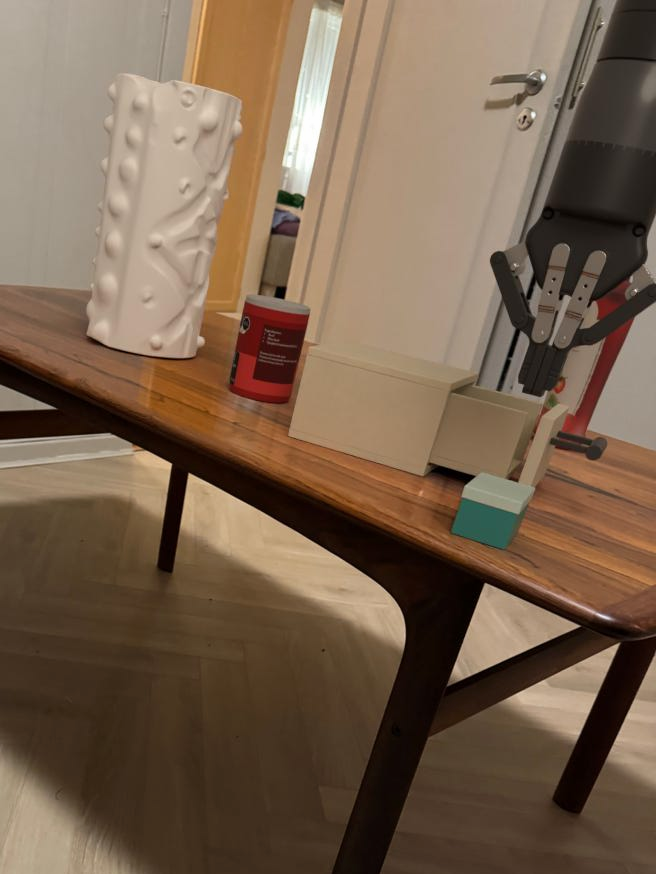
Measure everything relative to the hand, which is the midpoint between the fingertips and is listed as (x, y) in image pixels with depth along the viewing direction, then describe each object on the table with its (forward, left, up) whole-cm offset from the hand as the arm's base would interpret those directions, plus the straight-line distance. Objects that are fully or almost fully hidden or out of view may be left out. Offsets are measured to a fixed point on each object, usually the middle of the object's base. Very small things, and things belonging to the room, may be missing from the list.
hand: (533, 394), depth 71 cm
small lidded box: (0, +1, -11) cm, 11 cm away
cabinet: (+16, -18, -11) cm, 26 cm away
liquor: (+1, -50, -12) cm, 51 cm away
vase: (+57, -38, -12) cm, 69 cm away
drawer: (+3, -18, -10) cm, 21 cm away
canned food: (+34, -28, -12) cm, 45 cm away
